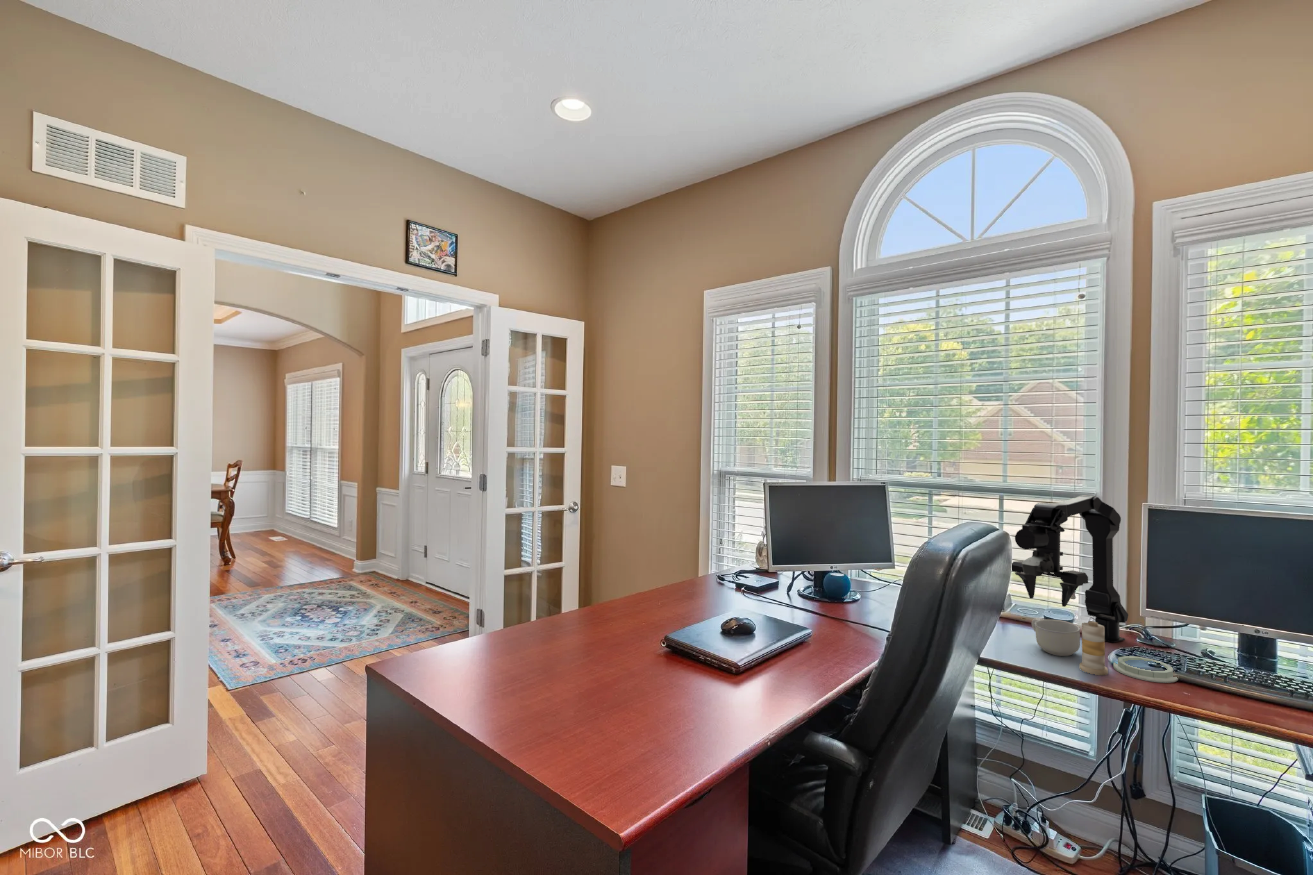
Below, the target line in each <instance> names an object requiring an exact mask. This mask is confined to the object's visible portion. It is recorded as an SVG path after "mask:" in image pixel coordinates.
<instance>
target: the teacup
mask: <svg viewBox="0 0 1313 875" xmlns="http://www.w3.org/2000/svg"><path fill="white" fill-rule="evenodd" d="M1031 627H1032V629H1033V631H1034V632H1035V639H1036V642H1037V645H1038V646H1039V647H1040V648H1041V649H1042V650H1043V651H1044V652H1046V653H1048V654H1050V655H1053V656H1058V657H1069V656H1072V655H1073V654H1075V653H1077V652H1078V651H1079V650H1080V646H1081V628H1080V626H1079V625H1077V624H1075V623H1073V622H1069V621H1065V620H1060V619H1041V618H1037V617H1036V618H1033V619H1032V620H1031Z"/></svg>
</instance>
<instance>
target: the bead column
mask: <svg viewBox="0 0 1313 875" xmlns="http://www.w3.org/2000/svg"><path fill="white" fill-rule="evenodd" d="M1105 642H1106V641H1105V627H1104V626H1102V625H1100V624H1098V623H1097V622H1095V621H1093V620H1089V621H1088V622H1082V623H1081V662H1080V663H1079V664H1078V665H1079V670H1080V669H1081V670H1082V672H1083V671H1084V673H1086V672H1087V673H1086V674H1089V673H1090V674H1089V675H1093V674H1095V675H1094V676H1107V675H1108V674H1109V669H1108V666H1107V667H1106V664H1105V663H1106V653H1105V652H1106V651H1105V650H1106V648H1105V647H1106V646H1105V645H1106V644H1105ZM1081 670H1080V671H1081Z"/></svg>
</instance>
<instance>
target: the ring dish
mask: <svg viewBox="0 0 1313 875" xmlns="http://www.w3.org/2000/svg"><path fill="white" fill-rule="evenodd" d="M1128 660H1144V661H1153V662H1156V663H1160V664H1161V665H1163V666H1164V667H1165V668H1166V669H1167V670H1165V671H1151V670H1145V669H1140V668H1137V667H1133V666H1130V665H1128V664H1126V663H1125V661H1128ZM1117 661H1118V664H1116V663H1115V661H1114V662H1113V669H1114V670H1115V671H1117V673H1120V674H1122V675H1125V676H1126V677H1130V678H1133V679H1135V680H1136V679H1137V680H1140V681H1146V682H1152V683H1157V684H1158V683H1161V684H1167V683H1168V684H1170V683H1171V684H1172V683H1175V682H1177V681H1179V677H1178V678H1177V677H1173V671H1174V669H1173V666H1171V665H1169V664H1168V663H1164V662H1163V661H1159V660H1155V659H1152V658H1147V657H1141V656H1132V655H1129V656H1128V655H1124V656H1119V657H1117Z"/></svg>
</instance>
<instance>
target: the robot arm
mask: <svg viewBox="0 0 1313 875" xmlns="http://www.w3.org/2000/svg"><path fill="white" fill-rule="evenodd" d="M1075 515H1079V516H1081V518H1082V519H1083V520H1084V523H1085V529H1086V531H1087V532H1088V533H1089V535H1090V536H1091V538H1092V543H1091V544H1092V546H1091V547H1092V585H1091V586H1090V587H1089V588H1088V589H1086V590H1085V591H1084V594H1085V596H1084V598H1085V599H1084V604H1085V608H1086V612H1087V616H1089V617H1095V618H1094V622H1097V623H1098V624H1100V625H1102V626H1104V627H1105V642H1108V643H1118V642H1122V641H1126V637H1122V636H1120V624H1126V623H1127V622H1128V618H1129V613H1128V612H1127V611H1126V609H1125V607H1124V606H1123V605H1122V602H1121V596H1120V594H1119V592H1118V591H1117V590H1116V588H1115V587H1114V554H1113V552H1114V550H1113V548H1114V547H1113V539H1114V537H1115V536H1116V535H1117V533H1118V532H1119V531H1120V524H1121V520H1122V519H1121V518H1122V517H1121V515H1120V514H1119V512H1117V510H1116V509H1115V508H1114V507H1113V506H1111V505H1109V504H1108V503H1106V502H1103V501H1102V500H1101V499H1100V498H1099V497H1098V496H1096V495H1083V494H1081V495H1078V496H1077V497H1073V498H1070V499H1067V500H1063V501H1059V502H1056V503H1055V502H1052V503H1051V502H1050V503H1049V502H1037V503H1035V504H1034V505H1033V507H1032V509H1031V511H1030V513H1029V515H1028V517H1027V519H1026V521H1025V523H1024V524H1022V526H1021V529H1019V530H1017V531H1016V533H1015V536H1014V541H1015V543H1016V545H1017V547H1019V548H1020V549H1022V550H1033V551H1032V554H1031V557H1028V558H1026V559H1025V560H1017V561H1016V560H1015V561H1012V562H1011V564H1012V571H1011V572H1014V574H1015V575H1016V576H1018V577H1019V578H1020V579H1021V580H1022V582H1023V584H1024V586H1025V589H1026V591H1027V592H1026V593H1027V594H1028V597H1029V599H1034V596H1035V592H1036V584H1037V577H1041V576H1042V575H1045V576H1050V577H1054V578H1059V579H1060V580H1061V581H1062V582H1059V585H1060V587H1061V606H1062V607H1067V606H1068V603H1069V602H1070V600H1071V598H1072V597H1073V595H1074V593H1075V592H1076V591H1077V589H1078V588H1079V586H1080V587H1081V586H1084V584H1089V576H1088V575H1087V573H1086V572H1082V571H1076V570H1064V566H1061V557H1062V556H1064V552H1063V551H1061V533H1064V532H1065V531H1066V530H1065V528H1064V527H1062V526H1061V525H1063V524H1064V523H1066V522H1067V521H1068V518H1070V517H1072V516H1075Z"/></svg>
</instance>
